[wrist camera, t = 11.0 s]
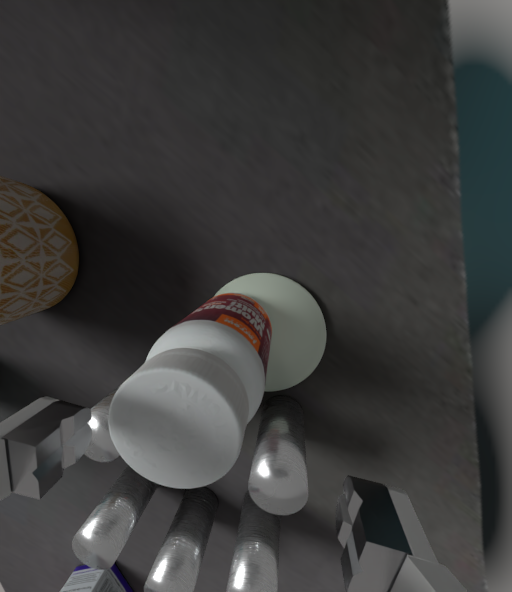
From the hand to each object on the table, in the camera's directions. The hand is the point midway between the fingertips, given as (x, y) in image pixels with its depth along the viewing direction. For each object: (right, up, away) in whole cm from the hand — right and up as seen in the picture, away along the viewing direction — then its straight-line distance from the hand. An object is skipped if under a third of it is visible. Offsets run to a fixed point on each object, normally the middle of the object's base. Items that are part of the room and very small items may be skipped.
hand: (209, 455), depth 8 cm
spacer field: (-3, -9, +16) cm, 18 cm away
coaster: (+2, +2, +13) cm, 13 cm away
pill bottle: (0, +2, +13) cm, 13 cm away
